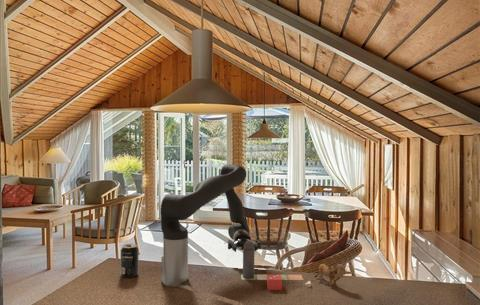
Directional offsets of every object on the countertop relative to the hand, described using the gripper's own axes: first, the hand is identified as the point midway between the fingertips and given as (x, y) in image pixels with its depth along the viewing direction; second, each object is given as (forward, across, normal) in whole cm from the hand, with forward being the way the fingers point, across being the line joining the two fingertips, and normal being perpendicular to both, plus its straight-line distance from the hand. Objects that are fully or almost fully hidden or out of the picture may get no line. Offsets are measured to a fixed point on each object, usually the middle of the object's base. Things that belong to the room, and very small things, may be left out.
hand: (245, 249), depth 152 cm
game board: (+12, +9, +9) cm, 17 cm away
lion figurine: (+17, +30, +9) cm, 36 cm away
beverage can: (+2, -47, +9) cm, 48 cm away
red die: (+22, +8, +9) cm, 25 cm away
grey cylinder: (+11, 0, +8) cm, 13 cm away
